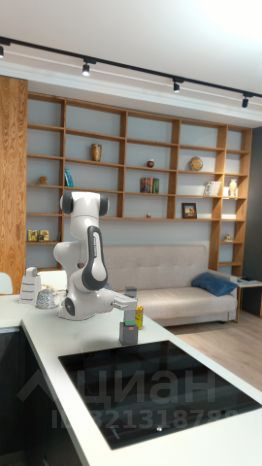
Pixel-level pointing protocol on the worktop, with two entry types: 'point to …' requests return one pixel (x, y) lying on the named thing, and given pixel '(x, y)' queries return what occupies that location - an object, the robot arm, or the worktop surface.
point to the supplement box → (139, 316)
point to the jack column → (130, 314)
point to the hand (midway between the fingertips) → (132, 297)
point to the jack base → (128, 335)
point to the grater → (30, 287)
